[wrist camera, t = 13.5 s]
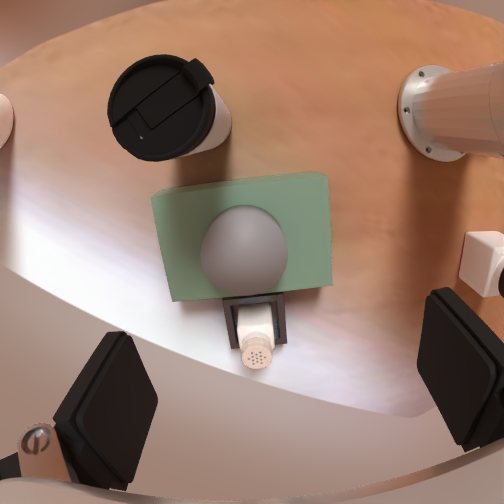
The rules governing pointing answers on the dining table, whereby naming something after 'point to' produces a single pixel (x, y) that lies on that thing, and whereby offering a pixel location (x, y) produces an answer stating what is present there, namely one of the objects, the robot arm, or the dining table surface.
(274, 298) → the dark brown square tray
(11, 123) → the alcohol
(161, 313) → the dining table surface
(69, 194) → the dining table surface
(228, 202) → the green slab with dome
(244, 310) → the pepper shaker
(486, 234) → the medicine bottle
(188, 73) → the travel mug
